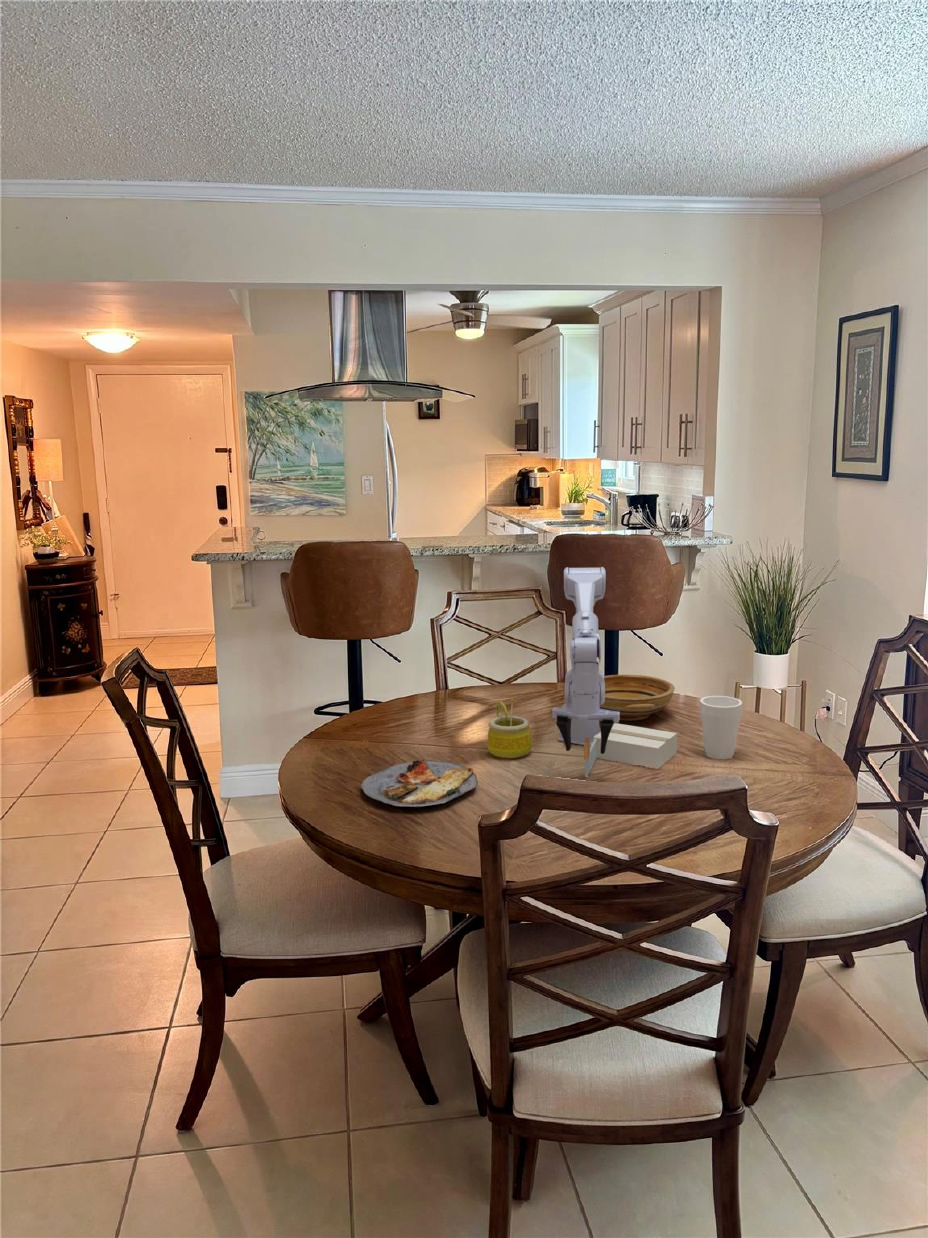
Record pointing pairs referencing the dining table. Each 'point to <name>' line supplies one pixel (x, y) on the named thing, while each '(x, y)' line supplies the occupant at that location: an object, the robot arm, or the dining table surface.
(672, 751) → the carton
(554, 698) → the dining table surface
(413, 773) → the food plate
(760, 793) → the dining table surface
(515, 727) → the yellow plant pot
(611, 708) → the wooden bowl
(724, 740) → the foam cup
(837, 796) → the dining table surface
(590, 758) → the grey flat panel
